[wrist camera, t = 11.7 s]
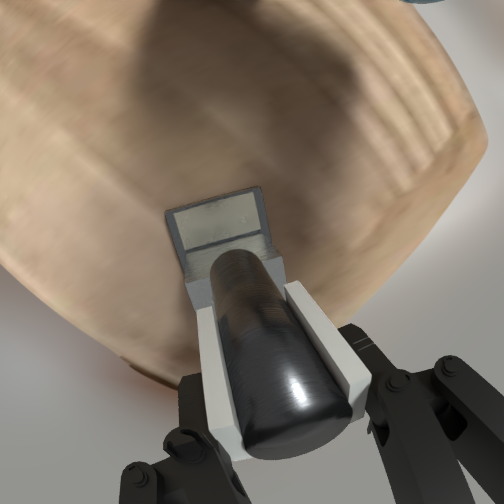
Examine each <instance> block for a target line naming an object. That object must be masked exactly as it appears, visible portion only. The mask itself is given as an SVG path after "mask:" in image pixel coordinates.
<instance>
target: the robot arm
mask: <svg viewBox="0 0 504 504" xmlns="http://www.w3.org/2000/svg"><path fill="white" fill-rule="evenodd" d="M400 1H403V2H407V3H417V4H427V3H434V2H439V1H443V0H400ZM284 291H285V296H286V302H287V304H288V305H289V307H290V309H291V310H292V312H293V313H294V315H295V317H296V318H297V320H298V321H299V323H300V325H301V326H302V328H303V329H304V331H305V333H306V334H307V336H308V338H309V339H310V341H311V342H312V344H313V346H314V347H315V349H316V350H317V352H318V354H319V355H320V357H321V359H322V360H323V362H324V363H325V365H326V367H327V368H328V370H329V371H330V373H331V375H332V376H333V378H334V380H335V381H336V383H337V384H338V386H339V388H340V389H341V391H342V392H343V394H344V396H345V397H346V399H347V401H348V402H349V404H350V405H351V407H352V409H353V416H352V419H351V421H350V423H352V422H354V421H356V420H358V419H360V418H363V417H364V414H365V410H366V412H367V413H368V415H369V416H370V421H369V425H368V428H367V433H368V434H370V433H371V430H372V432H373V435H374V438H375V441H376V444H377V447H378V450H379V453H380V455H381V458H382V461H383V464H384V467H385V470H386V473H387V476H388V479H389V483H390V485H391V489H392V492H393V495H394V499H395V502H396V504H475V501H474V499H473V496H472V493H471V491H470V488H469V486H468V483H467V481H466V479H465V476H464V474H463V472H462V469H461V467H460V465H459V463H458V460H459V461H460V463H461V464H462V465H463V466H464V467H465V468H466V469H467V471H468V472H469V473H470V474H471V475H472V477H473V478H474V479H475V480H476V481H477V482H478V484H479V485H480V486H481V487H482V488H483V490H484V491H485V492H486V493H487V494H488V495H489V496H490V498H491V499H492V500H493V501H494V502H495V504H504V396H503V395H502V394H500V392H498V391H497V390H496V389H495V388H494V387H493V386H492V385H491V384H490V383H488V382H487V381H486V380H485V379H484V378H483V377H482V376H480V375H479V374H478V373H477V372H476V371H474V370H473V369H472V368H471V367H470V366H469V365H468V364H466V363H465V362H464V361H463V360H462V359H460V358H458V357H457V356H452V355H448V356H444V357H442V358H440V359H439V360H438V361H437V362H436V363H435V366H434V368H432V369H428V370H425V371H421V372H416V373H410V372H408V371H406V370H402V369H397V368H396V367H395V366H394V365H393V364H392V363H391V362H390V361H389V360H388V359H387V357H386V356H385V355H384V354H383V352H382V351H381V350H380V349H379V348H378V347H377V346H376V344H374V342H373V341H372V340H371V339H370V338H369V337H368V336H367V334H366V333H365V332H364V331H363V330H362V329H361V328H359V327H357V326H355V325H353V324H351V323H350V324H348V325H345V326H343V327H340V328H338V329H336V328H335V326H334V325H333V324H332V322H331V321H330V320H329V319H328V317H327V316H326V315H325V313H324V312H323V311H322V310H321V308H320V307H319V306H318V305H317V303H316V302H315V301H314V300H313V298H312V297H311V296H310V294H309V293H308V292H307V291H306V289H305V288H304V287H303V286H302V284H301V283H300V282H299V281H298V280H297V281H294V282H291V283H288V284H285V285H284ZM197 324H198V337H199V349H200V360H201V370H202V372H201V373H197V374H192V375H188V376H183V377H182V379H181V381H180V384H179V386H178V398H179V400H178V404H179V405H178V406H179V427H178V428H176V429H173V430H172V431H171V432H170V433H169V434H168V435H167V436H166V438H165V440H164V442H163V450H164V451H166V452H167V453H168V454H169V455H170V457H169V458H166V459H164V460H162V461H160V462H157V463H155V464H152V465H149V464H147V463H145V462H140V461H139V462H133V463H131V464H129V465H128V466H126V468H125V469H124V470H123V473H122V476H121V484H120V495H119V504H252V503H251V501H250V499H249V498H248V495H247V493H246V492H245V490H244V488H243V486H242V484H241V482H240V480H239V478H238V475H237V473H236V472H235V471H234V470H233V467H232V463H231V459H232V460H233V462H235V461H240V460H243V459H248V458H252V456H250V455H249V454H248V453H247V452H246V450H245V447H244V444H243V437H242V433H241V429H240V425H239V421H238V417H237V413H236V408H235V404H234V399H233V395H232V390H231V386H230V381H229V377H228V372H227V367H226V362H225V357H224V352H223V347H222V342H221V337H220V332H219V326H218V322H217V319H216V316H215V313H214V310H213V308H212V306H210V307H206V308H202V309H199V310H197ZM350 423H349V424H350ZM457 459H458V460H457Z"/></svg>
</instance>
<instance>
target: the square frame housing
mask: <svg viewBox="0 0 504 504" xmlns="http://www.w3.org/2000/svg"><path fill="white" fill-rule="evenodd" d="M165 216H166V219H167V223H168V226H169V229H170V232H171V235H172V238H173V241H174V245H175V248H176V251H177V254H178V257H179V259H180V262H181V265H182V268H183V271H184V274H185V286H186V289H187V292H188V294H189V297H190V300H191V302H192V305H193V307H194V310H195V313H196V315H197V310H199V309H202V308H206V307H210V306H212V308H213V310H214V313H215V316H216V312H215V306H214V300H213V295H212V289H211V283H210V269H211V266H212V264H213V262H214V261H215V260H216V259H217V257H219V256H220V255H221V254H223V253H224V252H226V251H229V250H233V249H245V250H248V251H250V252H252V253H254V254H255V255H256V256H257V257H258V258H259V259H260V260H261V262H262V264H263V265H264V267H265V268H266V270H267V272H268V273H269V275H270V276H271V278H272V280H273V281H274V283H275V284H276V286H277V288H278V289H279V291H280V293H281V294H282V296H283V297H284V299H285V301H286V296H285V291H284V285H285V284H287V281H286V275H285V269H284V264H283V258H282V255H281V254H280V253H279V252H278V251H277V249H276V248H275V247H274V246H273V245H272V241H271V236H270V231H269V226H268V221H267V216H266V211H265V206H264V201H263V196H262V191H261V187H260V186H255V187H251V188H247V189H243V190H239V191H235V192H231V193H227V194H223V195H219V196H216V197H212V198H208V199H205V200H201V201H197V202H194V203H190V204H187V205H183V206H180V207H177V208H173V209H170V210H167V211H165ZM216 319H217V317H216Z"/></svg>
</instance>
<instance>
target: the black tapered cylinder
mask: <svg viewBox="0 0 504 504" xmlns="http://www.w3.org/2000/svg"><path fill="white" fill-rule="evenodd" d="M210 283H211V289H212V295H213V300H214V306H215V312H216V317H217V322H218V326H219V332H220V337H221V342H222V347H223V352H224V357H225V362H226V367H227V372H228V377H229V381H230V386H231V390H232V395H233V399H234V404H235V408H236V413H237V417H238V421H239V425H240V429H241V433H242V437H243V444H244V447H245V450H246V452H247V453H248V454H249V455H250V456H252V457H255V458H258V459H264V460H280V459H287V458H291V457H296V456H299V455H302V454H305V453H308V452H310V451H313V450H315V449H317V448H319V447H321V446H323V445H325V444H326V443H328V442H330V441H331V440H332V439H334V438H335V437H336V436H338V435H339V434H340V433H341V432H342V431H343V430H344V429H345V428H346V427H347V425H348V424H349V423H350V421H351V419H352V416H353V409H352V407H351V405H350V404H349V402H348V401H347V399H346V397H345V396H344V394H343V392H342V391H341V389H340V388H339V386H338V384H337V383H336V381H335V380H334V378H333V376H332V375H331V373H330V371H329V370H328V368H327V367H326V365H325V363H324V362H323V360H322V359H321V357H320V355H319V354H318V352H317V350H316V349H315V347H314V346H313V344H312V342H311V341H310V339H309V338H308V336H307V334H306V333H305V331H304V329H303V328H302V326H301V325H300V323H299V321H298V320H297V318H296V317H295V315H294V313H293V312H292V310H291V309H290V307H289V305H288V304H287V302H286V301H285V299H284V297H283V296H282V294H281V293H280V291H279V289H278V288H277V286H276V284H275V283H274V281H273V280H272V278H271V276H270V275H269V273H268V272H267V270H266V268H265V267H264V265H263V264H262V262H261V260H260V259H259V258H258V257H257V256H256V255H255V254H254V253H252V252H250V251H248V250H245V249H233V250H229V251H226V252H224V253H223V254H221V255H220V256H219V257H217V259H216V260H215V261H214V262H213V264H212V266H211V269H210Z"/></svg>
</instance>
